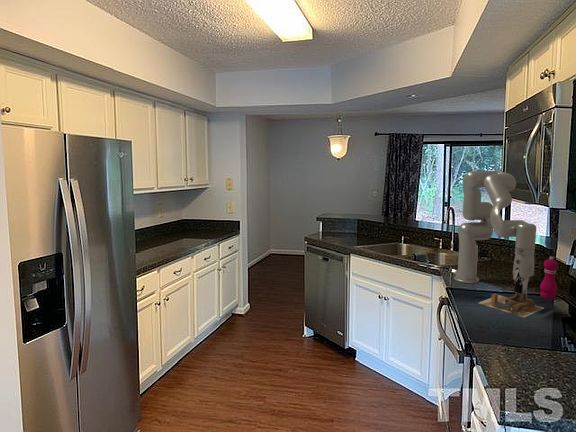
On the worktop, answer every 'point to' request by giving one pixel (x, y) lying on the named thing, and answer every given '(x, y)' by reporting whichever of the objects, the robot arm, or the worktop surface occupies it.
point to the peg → (524, 292)
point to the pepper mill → (549, 279)
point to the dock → (502, 299)
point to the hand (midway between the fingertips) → (521, 291)
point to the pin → (499, 303)
